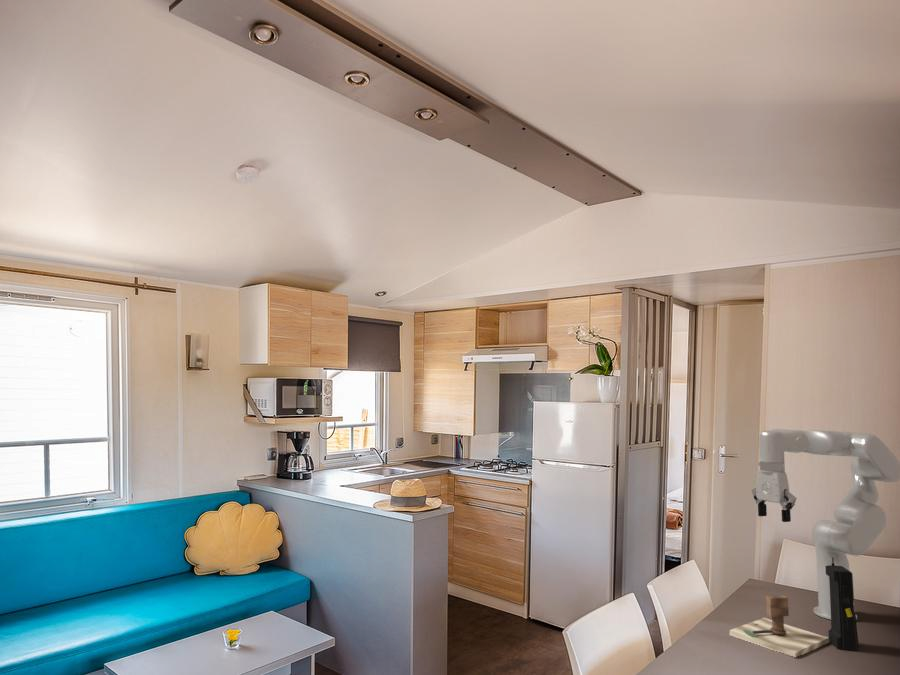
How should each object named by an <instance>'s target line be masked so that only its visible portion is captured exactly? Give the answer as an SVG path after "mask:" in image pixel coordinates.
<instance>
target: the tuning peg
mask: <svg viewBox="0 0 900 675" xmlns="http://www.w3.org/2000/svg"><path fill="white" fill-rule="evenodd" d="M765 598H766V599H765V601H766V607H765V608H766V616H768V617H770V618H771V620H772V627H771V628H770V630H759V631H753V633H754V634H759V633H774V634H778V635H784V634H786V630H785V629H784V624H785V620H784V619H785V618H784V617H789V614H790V613H789V597H788V596H785V595H766V597H765Z"/></svg>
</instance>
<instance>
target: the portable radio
mask: <svg viewBox="0 0 900 675" xmlns="http://www.w3.org/2000/svg"><path fill="white" fill-rule="evenodd" d="M825 567H826V575H828V576H829V583H830V605H831V620H830V627H831V628H830V629H828V638H829V643H830V644H832V645H833V647H835V648H836V649H838V650H844V651H853V652H854V651H858V650H859V649H860V643H859V637H858V636H859V635H858V628H857V620H856V615H857V614H856V612H855V609H854V608H855V606H854V605H855V603H854V604H853V602H854V600H855V595H854V581H853V580H854V576H853V573H852V571H849V570H850V569H849V570H847V569H846V568H844V567H843V566H835V565H834V560H833V559H832V565H828V566H825Z"/></svg>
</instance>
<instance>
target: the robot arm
mask: <svg viewBox="0 0 900 675" xmlns="http://www.w3.org/2000/svg"><path fill="white" fill-rule="evenodd" d="M758 449H759V451H758V452H759V456H758V457H759V462H758V466H759V470H757V475H756V482H755V487H754V488H753V489H751V493H752V495H753V499H754V500H755V503H756V505H757V515H758V517H766V516H767V503H766V502H770V503H774V504H779V505H780V506H781V508H782V509H781V521H782V523H789V522H791V521H792V520H791V510H792V509H793V507H794V506H796V501H797V497H796V496H795V495H794V494H792V493H791V492H790V485H789V480H788V476H787V472H786V468H785V465H786V464H785V453H792V454H793V453H795V454H797V453H806V454H811V455H820V456H835V457H837V456H838V457H852V458H853V459H852V460H851V462H850V465H849V466H850V472H851V478H852V486H851V487H850V489H849V490H848V492H847V493H846V494H845V495H844V497H842V499H841V500H840V501H839V502H838V504H837V505H836V507H835V508H834V509H833V517H834V520H830V519H823V520H822V519H821V520H819V521H816V523H815V524H813V527H812V530H811V535H812V536H811V537H812V540H813V543H814V548H815V553H816V573H817V574H816V575H817V578H816V579H817V595H818V596H817V599H818V601H817V602H818V605H817V606H815V607H813V613H814V614H815V615H817V616H818V617H821V618H823V619H827V620H830V621H831V605H830V583H829V576H828V575H826V567H825V566H828V565H832V559H833V560H834V565H835V566H843V567H844V568H846V569H847V570H849V571H850V562H849V558H848V557H847V555H850V556H855V557H858V556H861V555H863V554H865V553H866V552H867V551H868V550H869V549H870V548H871V546H873V545H874V543H875V542H876V540H878V538H879V537H880V535H881V534H882V533H883V531H884V530H885V528H886V526H887V514H886V512H885V510H884V509H883V508H882V507H881V506H879V505H878V504H877V503H878V501H879V492H878V488H877V485H876V481H878V482H884V483H896V482H899V481H900V460H899V459H898V457H897V456H896V455H895V454H894V453H893V451H892V450H891V449H890V447H888V446H887V445H886V443H885V442H883V441H882V440H881V438H879V437H878V436H876V435H875V434H872V433H866V432H865V433H863V432H851V431H850V432H849V431H837V430H836V431H835V430H834V431H833V430H817V429H816V430H814V429H813V430H812V429H811V430H800V429H799V430H795V429H794V430H793V429H782V428H779V429H778V428H774V429H771V430H761V431H760V432H759V433H758ZM835 520H836V521H835ZM850 572H851V571H850ZM853 604H854V605H855V602H854V601H853ZM857 620H858V615H857V614H856V621H857Z"/></svg>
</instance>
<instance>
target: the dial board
mask: <svg viewBox="0 0 900 675" xmlns="http://www.w3.org/2000/svg"><path fill="white" fill-rule="evenodd" d="M771 627H772V619H769V618H767V617H762V618H759V619H756V620H754V621H751V622H748V623H745V624H743V625H739V626H737V627H734V628H732V629H729V636H731V637H734V638H737V639H740V640H742V641H746V642H747V643H748V642H749V643H750V642H751V644H753V643H754V645H756V644H757V645H756V646H759V645H760V647H763V648H765V649H767V650H772V651H773V650H774V652H776V651H777V652H776V653H779V652H781V653H780V654H782V653H784V654H783V655H785V654H786V655H785V656H788V655H789V656H788V657H791V656H793V657H792V658H794V657H797V658H798V656H799V657H801V656H803V655H805V653H806V654H807V653H810V652H812V651H814V650H816V649H818V648H821V647H823V646H824V645H828V644H829V643H830V641H829V636H824V635H821V634H818V633H815V632H812V631H808V630H806V629H802V628H798V627H794V626H792V625H789V624H786V623H784V629H785V630H786V634H784V635H778V634H774V633H759V634H754V633H753V631H759V630H770V628H771ZM800 655H801V656H800Z"/></svg>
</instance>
